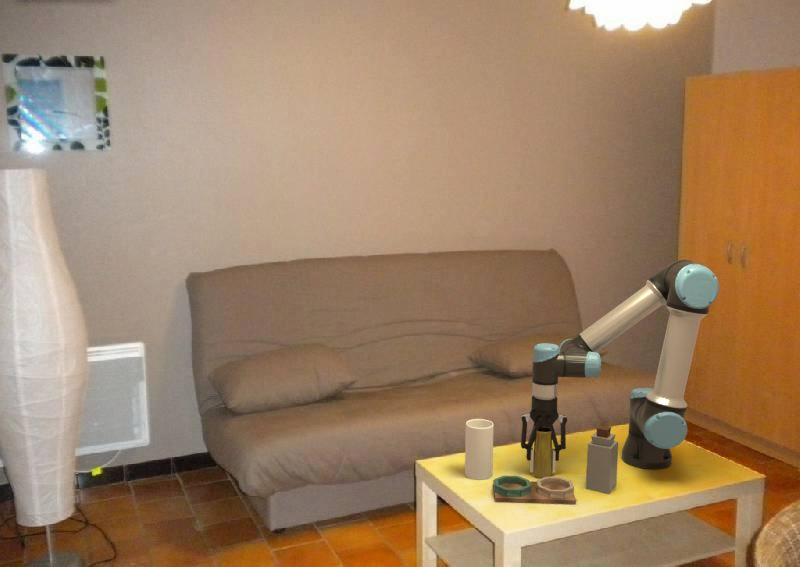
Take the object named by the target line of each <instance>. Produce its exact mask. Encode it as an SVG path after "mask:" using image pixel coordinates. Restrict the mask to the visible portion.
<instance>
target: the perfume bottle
mask: <svg viewBox="0 0 800 567" xmlns="http://www.w3.org/2000/svg"><path fill="white" fill-rule="evenodd" d="M595 429H596V430H595V432H594V433H593V434H591V436H590V438H591V440H590V441H589V442H588V443H587V452H586V453H587V455H586V476H585V477H586V482H585V490H589V491H594V492H597V493H602V494H606V495H610V494H611V492H613V491H614V489H615V488H616V487H617V478H618V476H617V474H618V461H619V460H618V458H619V457H618V456H619V441H617V440H615V437H616V433H613V432H611V430H612V426H608V425H607V426H606V425H601V424H600V425H598V426H597V427H596V428H595Z"/></svg>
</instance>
